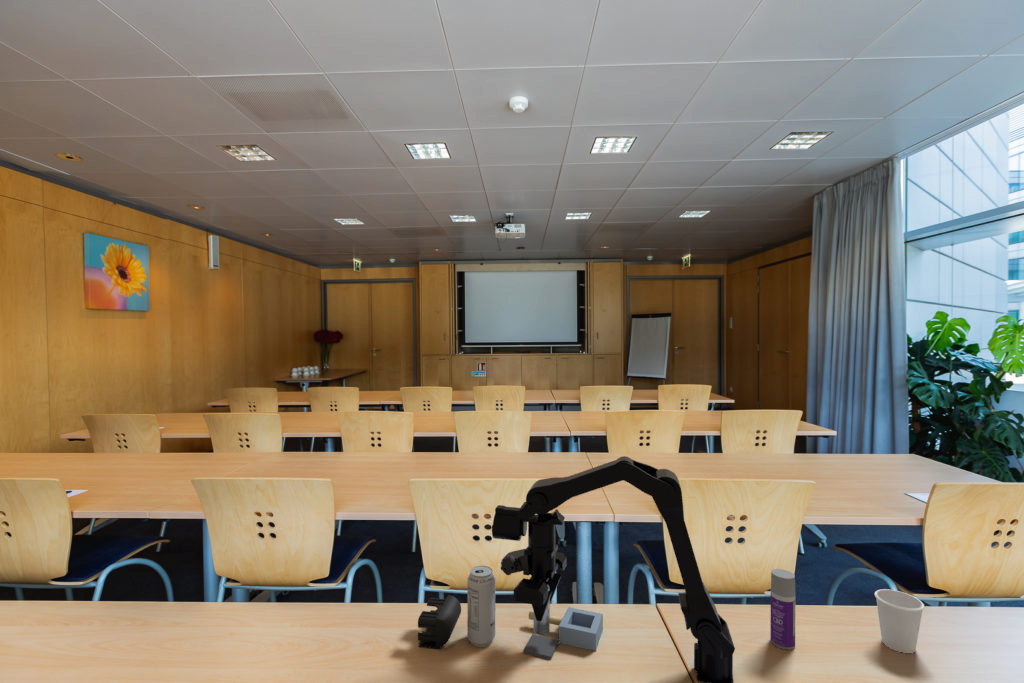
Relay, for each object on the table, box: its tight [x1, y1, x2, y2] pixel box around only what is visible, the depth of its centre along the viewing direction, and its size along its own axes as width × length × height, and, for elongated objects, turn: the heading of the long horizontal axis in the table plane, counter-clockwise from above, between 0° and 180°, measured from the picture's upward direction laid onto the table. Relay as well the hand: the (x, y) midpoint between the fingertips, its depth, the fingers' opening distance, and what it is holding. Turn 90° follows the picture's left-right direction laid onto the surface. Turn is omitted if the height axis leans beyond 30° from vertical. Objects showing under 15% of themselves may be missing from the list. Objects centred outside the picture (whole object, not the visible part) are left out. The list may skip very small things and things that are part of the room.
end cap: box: [417, 594, 462, 650], centre depth 108 cm, size 10×7×7 cm
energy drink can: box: [466, 565, 496, 648], centre depth 107 cm, size 6×6×15 cm
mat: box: [522, 633, 560, 660], centre depth 104 cm, size 6×6×1 cm
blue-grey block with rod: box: [528, 606, 604, 652], centre depth 110 cm, size 16×8×4 cm, turn 69°
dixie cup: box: [874, 588, 925, 654], centre depth 105 cm, size 8×8×10 cm
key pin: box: [532, 586, 551, 636], centre depth 104 cm, size 3×3×9 cm
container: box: [770, 568, 796, 651], centre depth 106 cm, size 5×5×15 cm
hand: (541, 615), depth 104 cm, fingers closed on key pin, 3 cm apart
